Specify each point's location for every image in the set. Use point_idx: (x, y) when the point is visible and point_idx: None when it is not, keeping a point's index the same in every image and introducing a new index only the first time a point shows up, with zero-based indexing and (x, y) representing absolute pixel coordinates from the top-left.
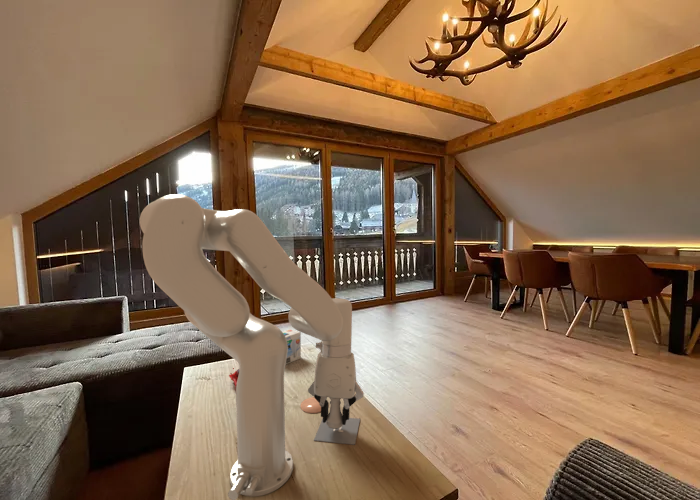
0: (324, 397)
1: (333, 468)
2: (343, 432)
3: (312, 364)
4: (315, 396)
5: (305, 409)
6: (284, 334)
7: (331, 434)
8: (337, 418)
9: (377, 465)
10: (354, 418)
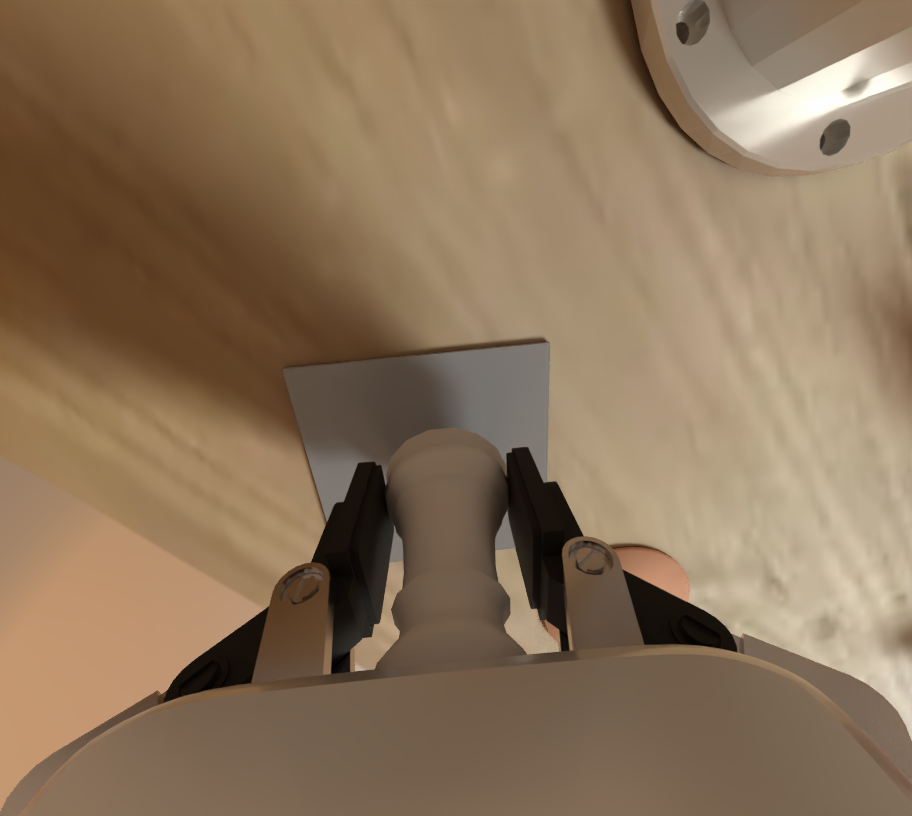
0: (590, 641)
1: (330, 93)
2: (390, 447)
3: None
4: (714, 632)
5: (656, 563)
6: None
7: (455, 415)
8: (414, 483)
9: (45, 208)
10: None
